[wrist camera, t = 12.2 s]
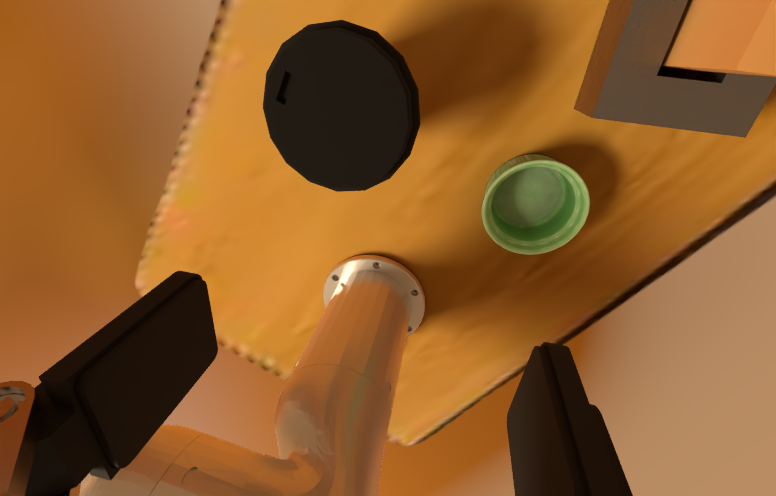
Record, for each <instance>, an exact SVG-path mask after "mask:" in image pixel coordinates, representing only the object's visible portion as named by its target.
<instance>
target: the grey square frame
mask: <svg viewBox="0 0 776 496" xmlns="http://www.w3.org/2000/svg"><path fill="white" fill-rule="evenodd" d="M687 2H688V0H610V1H609V4H608V7H607V10H606V13H605V16H604V19H603V22H602V25H601V28H600V31H599V34H598V37H597V40H596V43H595V46H594V49H593V52H592V55H591V58H590V61H589V64H588V67H587V70H586V74H585V77H584V80H583V83H582V86H581V89H580V92H579V95H578V98H577V101H576V104H575V107H574V109H576V110H578V111H579V112H581V113H583V114H585V115H587V116H589V117H591V118H598V119H606V120H614V121H621V122H629V123H637V124H645V125H653V126H660V127H668V128H676V129H684V130H692V131H699V132H707V133H715V134H723V135H731V136H738V137H746V136H747V134H748V132H749V130H750V129H751V127H752V125H753V123H754V122H755V120H756V118H757V116H758V115H759V113H760V111H761V109H762V108H763V106H764V104H765V102H766V101H767V99H768V97H769V95H770V94H771V92H772V90H773V88H774V87H775V85H776V77H773V76H760V75H747V74H735V73H722V72H709V71H697V70H687V71H686V74H685V76H684V78H683V79H682V78H673V77H665V76H657V74H658V71H659V69H660V66H661V64H662V62H663V59H664V57H665V55H666V52H667V50H668V47H669V45H670V43H671V40H672V38H673V35H674V33H675V31H676V28H677V26H678V23H679V21H680V19H681V16H682V14H683V11H684V9H685V7H686V4H687Z"/></svg>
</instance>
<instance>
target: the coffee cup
mask: <svg viewBox="0 0 776 496" xmlns="http://www.w3.org/2000/svg"><path fill="white" fill-rule="evenodd" d="M263 110H264V114H265V118H266V122H267V126H268V130H269V134H270V138H271V139H272V141H273V143H274V144H275V146H276V147H277V149H278V150H279V152H280V154H281V155H282V157H283V158H284V160H285V162H286V163H287V164H288V165H290V166H291V167H292V168H293V169H294V170H296V171H297V172H298V173H299V174H301V175H302V176H303V177H304V178H306V179H307V180H308V181H310V182H312V183H315V184H317V185H320V186H323V187H326V188H329V189H332V190H335V191H361V190H367V189H369V188H371V187H373V186H375V185H377V184H379V183H381V182H383V181H385V180H387V179H390V178H391V177H392V175H393V174H394V173H395V172H396V171H397V170H398V168H399V167H400V166H401V165H402V164H403V163H404V162H405V160H406V159H407V158H408V157H409V156H410V154H411V151H412V148H413V145H414V142H415V139H416V136H417V132H418V129H419V126H420V110H419V93H418V88H417V86H416V83H415V81H414V79H413V77H412V75H411V72H410V70H409V68H408V66H407V64H406V62H405V59H404V57H403V56H402V55H401V54H400V53H399V52H398V51H397V50H396V49H395V48H394V47H393V46H392V45H390V44H389V43H388V42H387V41H386V40H385V39H384V38H383V37H382V36H381V35H380V34H379V33H378V32H376V31H373V30H370V29H367V28H364V27H362V26H359V25H356V24H353V23H350V22H347V21H344V20H338V21H331V22H324V23H317V24H310V25H307V26H306V27H305V28H303V29H302V30H301V31H299V32H298V33H296V34H295V35H294V36H292V37H291V38H290V39H288V40H287V41H285V42H284V43H283V44H282V45H281V47H280V49H279V51H278V52H277V54H276V56H275V58H274V60H273V62H272V63H271V65H270V67H269V69H268V71H267V73H266V82H265V92H264V101H263Z"/></svg>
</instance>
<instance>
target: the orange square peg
mask: <svg viewBox="0 0 776 496" xmlns="http://www.w3.org/2000/svg"><path fill="white" fill-rule="evenodd" d="M660 67H666V68H674V69H684V70H697V71H709V72H722V73H735V74H747V75H760V76H773V77H776V0H688V2H687V4H686V7H685V9H684V11H683V14H682V16H681V19H680V21H679V23H678V26H677V28H676V31H675V33H674V35H673V38H672V40H671V43H670V45H669V47H668V50H667V52H666V55H665V57H664V59H663V62H662V64H661V66H660Z"/></svg>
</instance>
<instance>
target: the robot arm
mask: <svg viewBox="0 0 776 496" xmlns="http://www.w3.org/2000/svg"><path fill="white" fill-rule="evenodd" d="M323 299H324V304H325V307H326V309H325V311H324V313H323V314H322V316H321V318H320V320H319V322H318V324H317V326H316V328H315V329H314V331H313V333H312V335H311V337H310V339H309V341H308V342H307V344H306V346H305V348H304V350H303V352H302V354H301V356H300V357H299V359H298V361H297V363H296V365H295V367H294V369H293V371H292V373H291V374H290V376H289V378H288V380H287V382H286V384H285V386H284V387H283V389H282V391H281V394H280V396H279V399H278V403H277V406H276V411H275V434H276V440H277V446H278V451H279V454H280V459H278V458H275V457H271V456H268V455H263V454H260V453H257V452H254V451H251V450H249V449H246V448H244V447H241V446H238V445H235V444H233V443H230V442H227V441H225V440H222V439H219V438H216V437H214V436H211V435H208V434H205V433H202V432H199V431H196V430H193V429H189V428H186V427H182V426H176V425H162V424H163V423H164V421H165V420H166V419H167V417H168V416H169V415H170V414H171V413H172V411H173V410H174V409H175V408H176V407H177V405H178V404H179V403H180V402H181V400H182V399H183V398H184V397H185V395H186V394H187V393H188V392H189V390H190V389H191V388H192V387H193V386H194V384H195V383H196V382H197V380H198V379H199V378H200V377H201V376H202V374H203V373H204V372H205V371H206V369H207V368H208V367H209V366H210V364H211V363H212V362H213V361H214V359H215V357H216V355H217V351H218V347H217V340H216V335H215V329H214V323H213V318H212V312H211V306H210V301H209V295H208V289H207V284H206V282H205V281H203V280H202V277H201V276H200V275H198V274H194V273H189V272H184V271H177V272H175V273H173V274H172V275H171V276H170V277H168V278H167V279H166V280H164V281H163V282H162V283H160V284H159V285H158V286H156V287H155V288H154V289H153V290H151V291H150V292H149V293H147V294H146V295H145V296H143V297H142V298H141V299H140V300H138V301H137V302H136V303H134V304H133V305H132V306H131V307H129V308H128V309H126V310H125V311H124V312H123V313H121V314H120V315H119V316H117V317H116V318H115V319H113V320H112V321H111V322H109V323H108V324H107V325H106V326H104V327H103V328H102V329H100V330H99V331H98V332H96V333H95V334H94V335H93V336H91V337H90V338H89V339H87V340H86V341H85V342H83V343H82V344H81V345H79V346H78V347H77V348H76V349H74V350H73V351H72V352H70V353H69V354H68V355H66V356H65V357H64V358H63V359H61V360H60V361H59V362H57V363H56V364H55V365H53V366H52V367H51V368H49V369H48V370H47V371H45V372H44V373H43V374H42V375H40V376H39V379H40V380H41V382H42V383H40V384H39V385H38V386H37V387H35V388H33V387H32V385H31V384H29V383H26V382H23V381H8V382H3V383H0V496H378V492H379V481H380V474H381V467H382V460H383V454H384V448H385V442H386V437H387V432H388V427H389V422H390V417H391V412H392V407H393V402H394V397H395V392H396V387H397V381H398V376H399V371H400V366H401V361H402V356H403V351H404V346H405V341H406V337H407V336H409V335H410V334H412V333H413V332H414V331H415V330H416V329H417V328H418V326H419V325H420V323H421V322H422V319H423V316H424V312H425V295H424V292H423V289H422V287H421V285H420V283H419V281H418V280H417V278H416V277H415V276H414V275H413V274H412V273H411V272H410V271H409V270H408V269H407V268H406V267H404V266H403V265H401V264H399V263H398V262H396V261H394V260H391V259H389V258H386V257H382V256H377V255H360V256H355V257H351V258H348V259H346V260H344V261H343V262H341V263H339V264H338V265H337V266H336V267H335V268H334V269H333V270H332V271H331V273H330V274H329V276H328V278H327V280H326V282H325V285H324V289H323ZM507 430H508V438H509V446H510V455H511V462H512V472H513V479H514V489H515V496H633V495H632V493H631V490H630V487H629V485H628V482H627V480H626V477H625V474H624V472H623V469H622V466H621V464H620V461H619V459H618V456H617V454H616V451H615V448H614V446H613V443H612V440H611V438H610V435H609V433H608V430H607V428H606V425H605V423H604V420H603V417H602V415H601V413H600V411H599V409H598V408H597V407H596V406H595V405H591V404H589V402H588V399H587V396H586V393H585V391H584V388H583V385H582V382H581V379H580V376H579V374H578V371H577V369H576V365H575V363H574V360H573V357H572V354H571V352H570V349H569V348H568V347H567V346H563V345H558V344H553V343H547V342H544V343H543V344H542V345H541V347H539V346H535V347H534V349H533V351H532V353H531V356H530V358H529V361H528V363H527V366H526V368H525V371H524V373H523V376H522V379H521V381H520V383H519V386H518V388H517V391H516V394H515V396H514V398H513V401H512V403H511V406H510V408H509V411H508V416H507ZM89 472H90V474H91V475H92V476H91V477H90V479H89V480H88V481H87V483H86V484H85V486H84V487H83V489H82V490H81V492H80V485H81V481H82V480H83V479H84V478H85V477H86V476H87V474H89ZM79 493H80V494H79Z"/></svg>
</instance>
